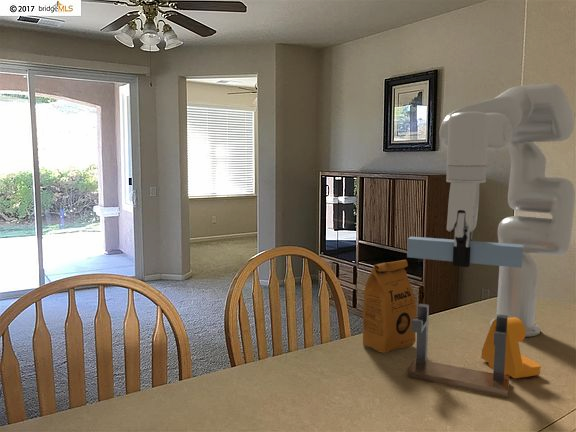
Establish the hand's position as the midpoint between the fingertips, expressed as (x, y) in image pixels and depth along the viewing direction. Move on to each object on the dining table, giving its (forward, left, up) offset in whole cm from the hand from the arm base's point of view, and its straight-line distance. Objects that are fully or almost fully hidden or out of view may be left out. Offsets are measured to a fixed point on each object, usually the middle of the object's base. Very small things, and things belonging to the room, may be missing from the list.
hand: (462, 263), depth 99 cm
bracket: (-13, +10, -26) cm, 31 cm away
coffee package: (-13, -18, -26) cm, 34 cm away
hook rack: (-1, 0, -26) cm, 26 cm away
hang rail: (0, 0, +1) cm, 1 cm away
